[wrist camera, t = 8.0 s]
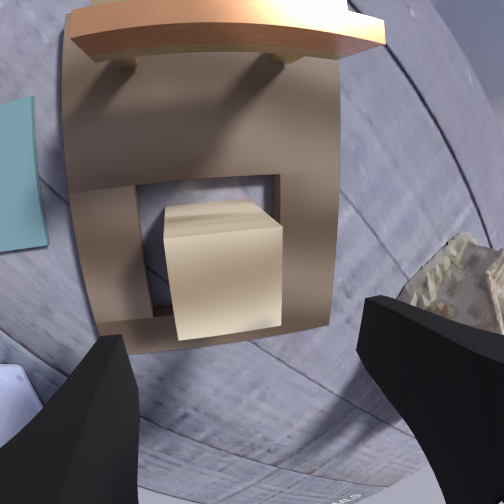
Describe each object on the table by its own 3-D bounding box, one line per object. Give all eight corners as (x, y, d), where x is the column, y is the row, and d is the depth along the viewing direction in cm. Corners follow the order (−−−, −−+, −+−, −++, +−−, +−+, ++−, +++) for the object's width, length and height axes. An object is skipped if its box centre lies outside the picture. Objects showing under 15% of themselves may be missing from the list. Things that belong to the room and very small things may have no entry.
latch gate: (290, 77, 14) (385, 44, 7) (117, 84, 12) (69, 38, 5) (289, 32, 13) (377, -25, 6) (118, 35, 11) (79, -41, 4)
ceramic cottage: (411, 411, 29) (492, 495, 16) (333, 353, 23) (459, 495, 9) (495, 304, 29) (590, 359, 15) (452, 204, 23) (609, 254, 9)
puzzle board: (322, 317, 21) (328, 325, 20) (107, 346, 18) (105, 356, 17) (327, 15, 14) (335, 10, 13) (70, 20, 11) (65, 14, 10)
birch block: (250, 274, 19) (281, 325, 14) (174, 283, 18) (178, 340, 13) (248, 198, 17) (282, 226, 12) (165, 206, 16) (163, 238, 11)
